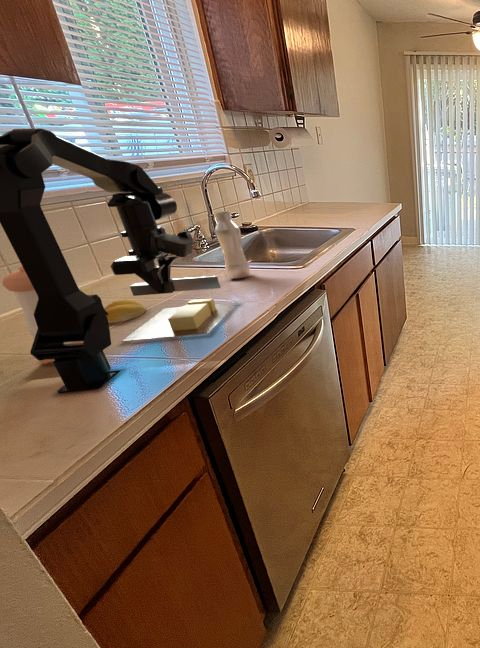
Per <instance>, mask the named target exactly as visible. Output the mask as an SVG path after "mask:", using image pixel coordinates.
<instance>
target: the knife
mask: <svg viewBox="0 0 480 648" xmlns="http://www.w3.org/2000/svg"><path fill="white" fill-rule="evenodd" d="M163 286H164V293H162V294H161V295H164V294H173V293H175V292H190V291H201V290H202V291H203V290H214V289H221V283H220V280H219V277H218V275H209V276H196V277H195V276H193V277H182V278H170V281H163ZM129 289H130V291H131V293H132V296H133V297H137V296H138V297H139V296H151V295H160V294H159V293H158V292H156V291H155V290H154V289H153V288H152V287H151V286H150V285H148V284H147V283H146V282H145V281H143V282H135V283H133V284H131V285H129Z"/></svg>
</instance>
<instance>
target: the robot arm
mask: <svg viewBox="0 0 480 648" xmlns="http://www.w3.org/2000/svg"><path fill="white" fill-rule="evenodd" d="M53 165H55V166H57V167H60V168H63V169H65V170H67V171H70V172H73V173H76V174H79V175H81V176H84V177H86V178H88V179H89V180H92V183H93V184H94V185H95V186H96V187H98V188H100V189H102V190H103V191H105V192H107V193H109V194H112V196H111V198H110V199H109V200H108V202H107V207H109V208H116V211H117V213H118V216H119V218H120V221H121V224H122V227H123V229H124V231H121V232H120V235H121V238H127V239H128V242H129V245H130V247H131V249H130V250H128V251H127V254H128V256H122V257H121V258H118V259H116V260H113V262H111V264H110V268H111V271H112V273H113V275H114V276H123V275H136V276H137V277H139V278H140V279H141V280H142V281H143V282H146V283H147V284H148V285H150V286H151V287H152V288H153V289H154V290H155V291H156V292H158V293H159V294H158V295H163V294H162V293H164V286H163V281H170V279H171V269H172V265H173V264H174V263H175V261H177V259H178V258H186V257H187V256H188V255H191V254H192V253H193V246H195V245H196V242H195V239H194V238H193V236H192V234H191V232H190V231H186V230H181V231H179V232H178V233H177V234H175V233H173V234H170V233H167V232H166V230H165V228H164V227H163V226H158V223H157V221H158V220H161V219H165V218H167V217H171V216H173V215H174V214H175V213H176V212H177V209H178V205H177V202H176V200H175V199H174V198H173V197H172V196H171V195H170V194H168V193H166V192H164V191H163V188H162V187H161V186H158V185H157V184H156V183H155V181H153V179H152V178H151V177H150V176H149V175H148V173H147V172H146V171H145V170H144V169H143V168H142V167H141V165H138V164H136V163H133V162H129V161H124V160H117V159H110V158H106V157H104V156H102V155H99V154H97V153H95V152H93V151H90V150H88V149H86V148H84V147H82V146H79V145H77V144H75V143H73V142H71V141H68V140H66V139H64V138H61V137H59V136H57V135H56V134H55V133H54V132H52V131H51V130H47V129H45V128H42V127H41V128H13V129H11V130H9V131H7V132H5V133H3V134H2V135H0V225H1V227H2V229H3V231H4V233H5V235H6V237H7V239H8V241H9V243H10V245H11V247H12V248H13V250H14V253H15V254H16V257H17V259H18V260H19V263H20V264H21V266H23V268H24V270H25V272H26V274H27V276H28V278H29V280H30V282H31V284H32V286H33V288H34V290H35V292H36V294H37V296H38V301H37V305H36V308H35V311H34V318H35V321H36V324H37V327H38V329H37V332H36V336H35V339H34V338H33V342H32V346H31V348H30V355H31V356H33V358H35V359H36V360H37V361H38V362H39V361H40V362H41V361H43V360H47V359H54V360H55V361H53V362H52V364H53V366H54V368H55V370H56V372H57V374H58V376H59V377H60V379H61V381H62V383H63V385H62V387H60V388H59V389H58V390H56V392H57V394H59V395H60V394H68V393H77V392H78V393H79V392H87V391H95V390H96V391H97V390H100V389H102V388H103V387H104V386H105V385H106V384H108V382H109V381H111V380H112V379H113V378H114V377H115V376H116V375H118V374H119V373H120V372H121V371H122V370H121V369H120V370H119V369H118V370H111V365H110V362H109V361H108V358H107V357H106V354H105V352H104V350H106V349H107V348H109V347H110V346H111V345H112V338H111V333H110V331H111V330H110V323H109V322H108V319H107V317H106V315H108V313H107V312H106V311H105V309H104V308H105V307H104V304H103V302H102V299H101V297H100V296H99V295H98V294H86V293H85V292H84V291H82V290H81V289H80V287H79V286H78V284H77V282H76V280H75V277H74V276H73V273H72V271H71V270H70V267H69V265H68V263H67V260H66V258H65V256H64V254H63V252H62V249H61V248H60V246H59V244H58V241H57V239H56V237H55V234H54V232H53V229H52V228H51V226H50V224H49V222H48V219H47V218H46V217H47V216H46V215H45V213H44V211H43V209H42V206H41V203H42V199H43V197H44V193H45V190H46V184H45V181H44V178H43V173H44V172H45V171H46V170H48V169H50V167H52V166H53ZM171 255H173V256H171ZM75 341H84V342H83V343H78V344H64V342H75Z"/></svg>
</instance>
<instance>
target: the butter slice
mask: <svg viewBox="0 0 480 648" xmlns="http://www.w3.org/2000/svg"><path fill="white" fill-rule="evenodd" d="M205 303H208V306H209V309H210V312H214V311H215V310H216V306H215V304H216V303H215V300H214V298H213V297H212V298H211V297H210V298H201V299H190V300H189V301H187V305H193V304H205Z"/></svg>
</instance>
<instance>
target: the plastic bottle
mask: <svg viewBox="0 0 480 648" xmlns="http://www.w3.org/2000/svg"><path fill="white" fill-rule="evenodd" d="M214 215H215V219H216V221H217V224H216V225H215V228H214V234H215V236H216V238H217V241H218V243H219V245H220V249H221V250H222V255H223V259H224V269H225V273H226V275H227V277H228V278H230V279H242V278H247V277H249V276H250V274H251V267H250V264H249V262H248V261H247V258H246V255H245V251H244V249H243V242H242V235H241V233H242V232H241V229H240V227H239V226H238V225H237V223H235V222H234V221H233V220H232V219H233V218H232V216H231V212H230V211H219V212H215V214H214Z"/></svg>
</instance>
